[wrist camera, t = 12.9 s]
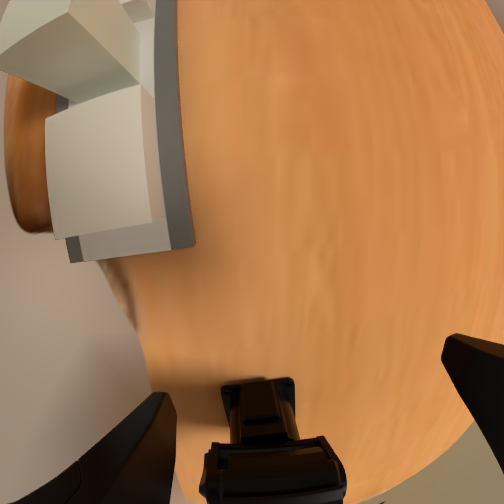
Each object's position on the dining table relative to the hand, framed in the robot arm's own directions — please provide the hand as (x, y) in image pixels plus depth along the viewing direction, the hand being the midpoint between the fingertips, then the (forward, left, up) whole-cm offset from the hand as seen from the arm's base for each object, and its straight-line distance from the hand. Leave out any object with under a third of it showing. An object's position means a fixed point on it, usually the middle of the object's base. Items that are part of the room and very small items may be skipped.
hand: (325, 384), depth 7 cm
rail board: (+16, +10, -13) cm, 23 cm away
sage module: (+16, +10, -12) cm, 22 cm away
